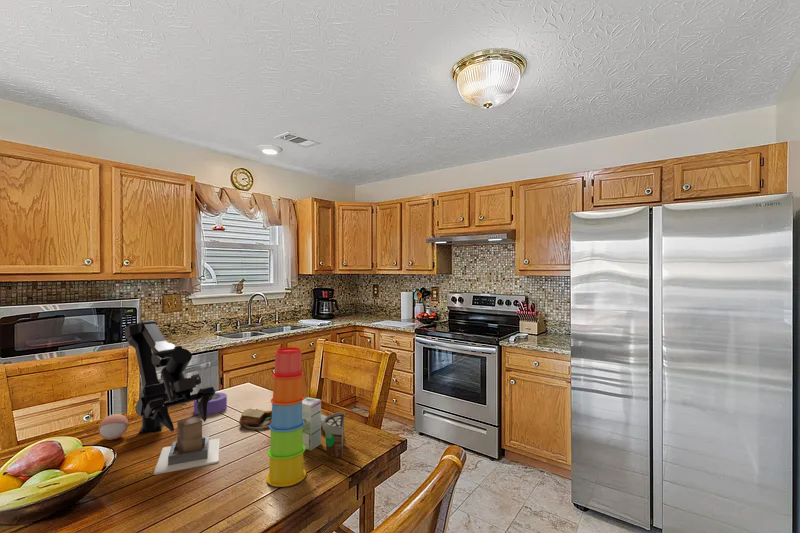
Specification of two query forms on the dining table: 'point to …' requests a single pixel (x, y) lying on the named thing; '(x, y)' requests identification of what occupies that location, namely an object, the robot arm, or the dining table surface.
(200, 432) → the walnut block
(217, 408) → the tape roll
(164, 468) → the mat
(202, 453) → the collar
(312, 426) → the syrup box
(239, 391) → the dining table surface
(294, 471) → the stacking cups
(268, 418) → the toy sandwich meal
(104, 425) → the toy ball
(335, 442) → the food container
